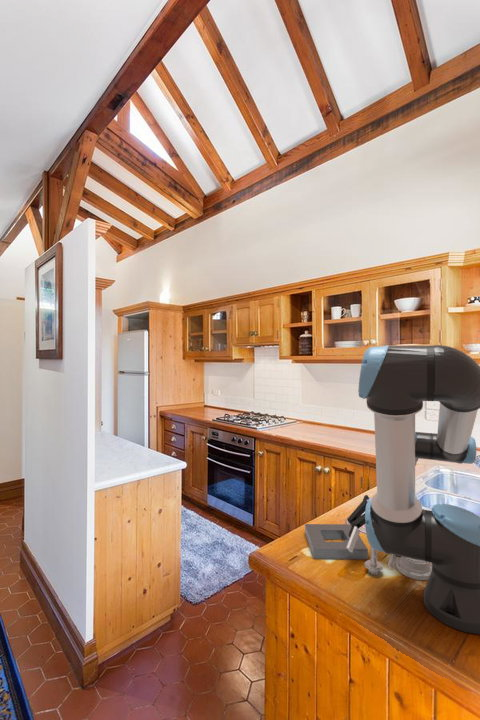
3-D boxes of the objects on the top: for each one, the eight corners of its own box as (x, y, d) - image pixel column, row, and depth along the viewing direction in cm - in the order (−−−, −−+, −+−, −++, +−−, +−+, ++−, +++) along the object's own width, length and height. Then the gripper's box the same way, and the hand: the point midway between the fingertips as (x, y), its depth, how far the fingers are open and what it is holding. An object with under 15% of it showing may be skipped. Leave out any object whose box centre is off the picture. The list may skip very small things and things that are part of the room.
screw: (384, 571, 103) (380, 579, 99) (367, 565, 105) (362, 573, 101) (385, 524, 103) (380, 531, 99) (367, 520, 105) (362, 527, 101)
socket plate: (367, 559, 109) (367, 549, 109) (313, 558, 109) (313, 548, 109) (352, 533, 125) (352, 524, 125) (304, 532, 125) (304, 524, 125)
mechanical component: (403, 556, 110) (389, 570, 103) (403, 542, 110) (389, 555, 103) (439, 570, 103) (427, 586, 96) (439, 554, 103) (427, 569, 96)
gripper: (438, 505, 104) (417, 583, 93) (361, 484, 121) (336, 548, 110) (432, 491, 100) (409, 570, 90) (353, 471, 117) (326, 536, 107)
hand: (368, 558), depth 100 cm, fingers open, 11 cm apart
